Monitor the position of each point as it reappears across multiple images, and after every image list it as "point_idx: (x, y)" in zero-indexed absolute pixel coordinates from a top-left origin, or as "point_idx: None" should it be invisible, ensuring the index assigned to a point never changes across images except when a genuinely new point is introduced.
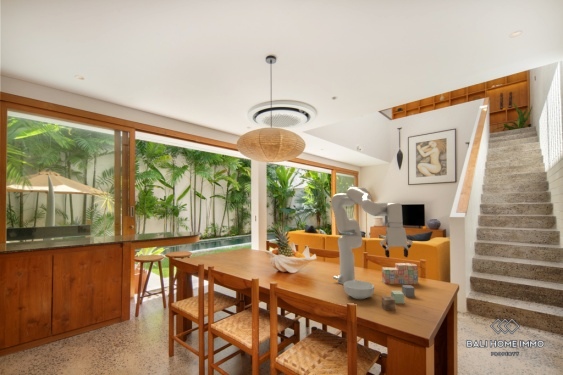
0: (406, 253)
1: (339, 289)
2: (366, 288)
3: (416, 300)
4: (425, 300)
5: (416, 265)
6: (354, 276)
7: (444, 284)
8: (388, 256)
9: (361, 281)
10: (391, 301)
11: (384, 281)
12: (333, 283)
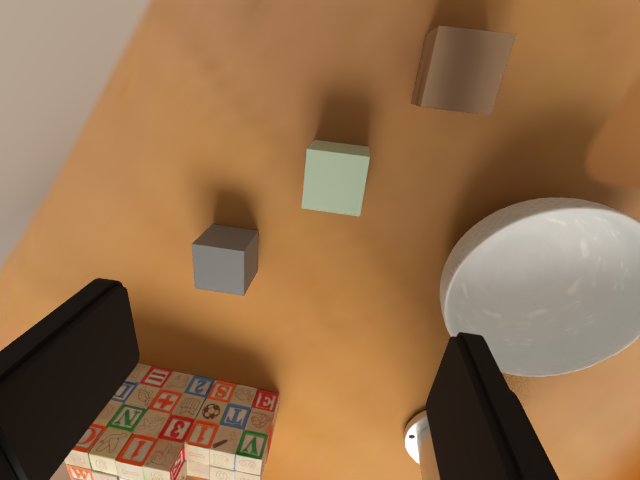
0: (58, 327)
1: None
2: (454, 310)
3: (227, 172)
4: (180, 166)
5: None
6: (428, 453)
7: None
8: (481, 346)
9: None
10: (464, 29)
11: (277, 403)
12: None
